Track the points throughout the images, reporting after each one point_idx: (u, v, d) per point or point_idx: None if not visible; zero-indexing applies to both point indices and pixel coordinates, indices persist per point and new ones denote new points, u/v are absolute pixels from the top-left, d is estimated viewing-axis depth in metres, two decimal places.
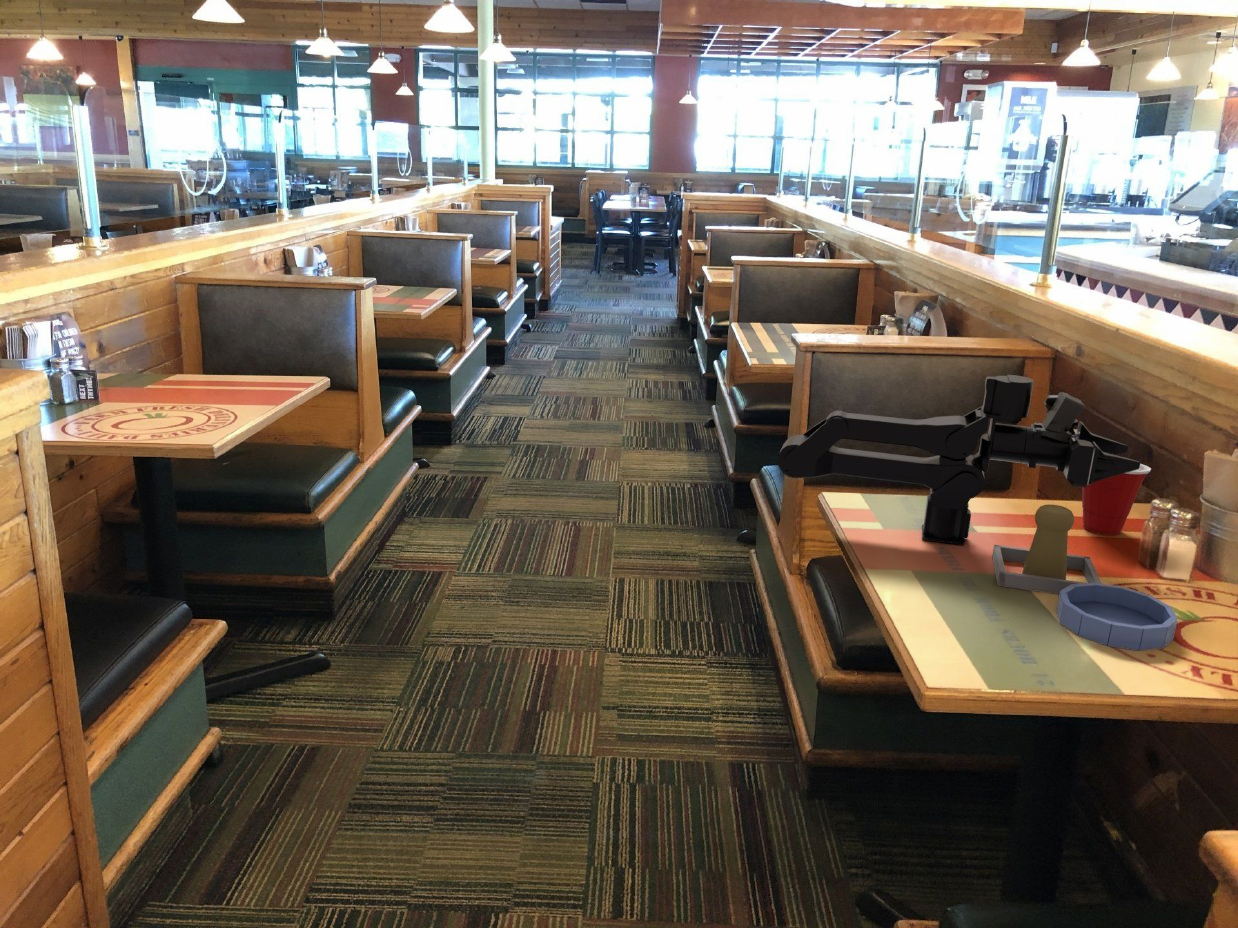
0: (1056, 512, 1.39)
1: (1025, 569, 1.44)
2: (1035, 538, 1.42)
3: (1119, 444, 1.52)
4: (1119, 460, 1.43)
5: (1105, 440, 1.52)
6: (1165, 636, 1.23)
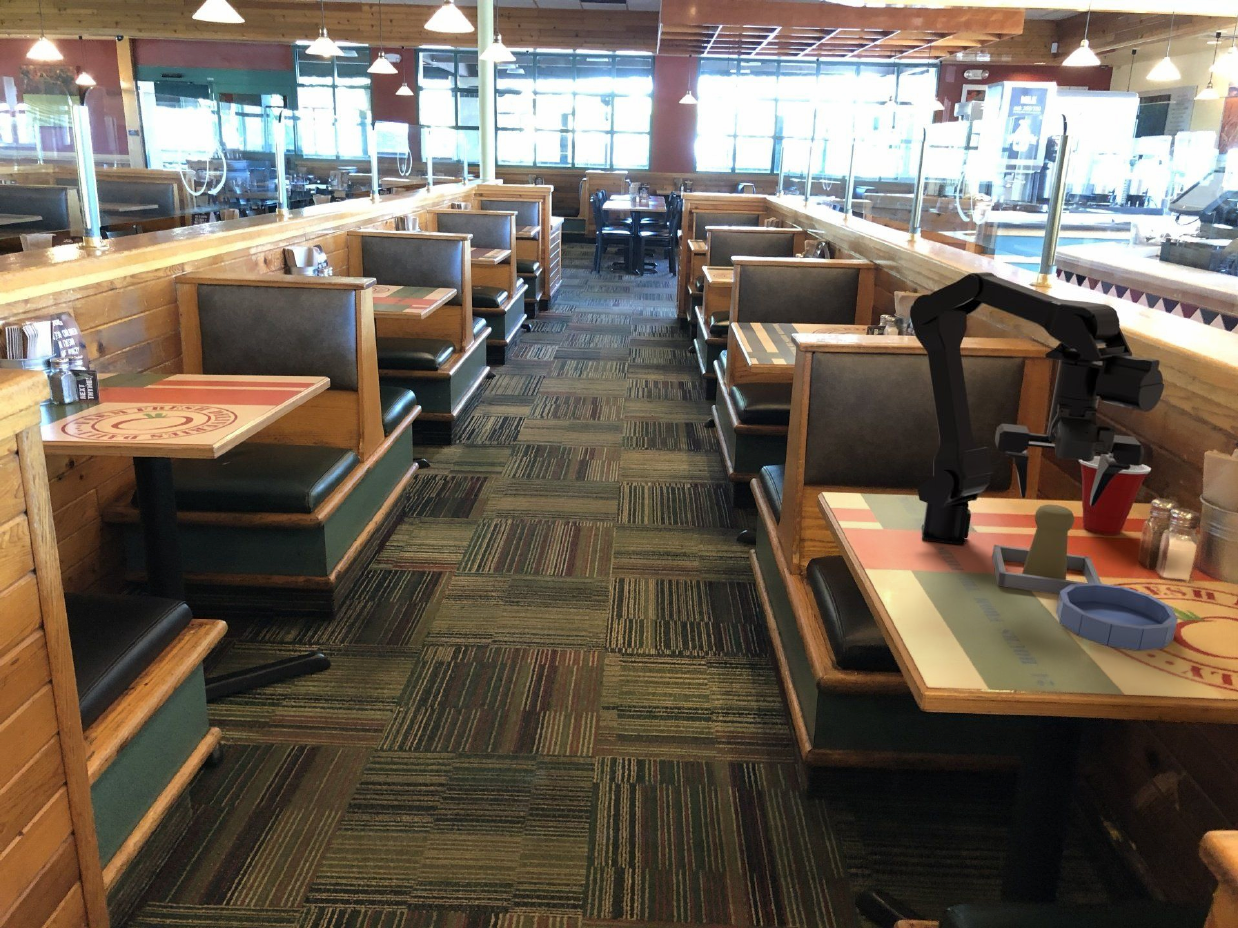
0: (1056, 512, 1.39)
1: (1025, 569, 1.44)
2: (1035, 538, 1.42)
3: (1092, 498, 1.39)
4: (1020, 478, 1.41)
5: (1097, 485, 1.38)
6: (1165, 636, 1.23)
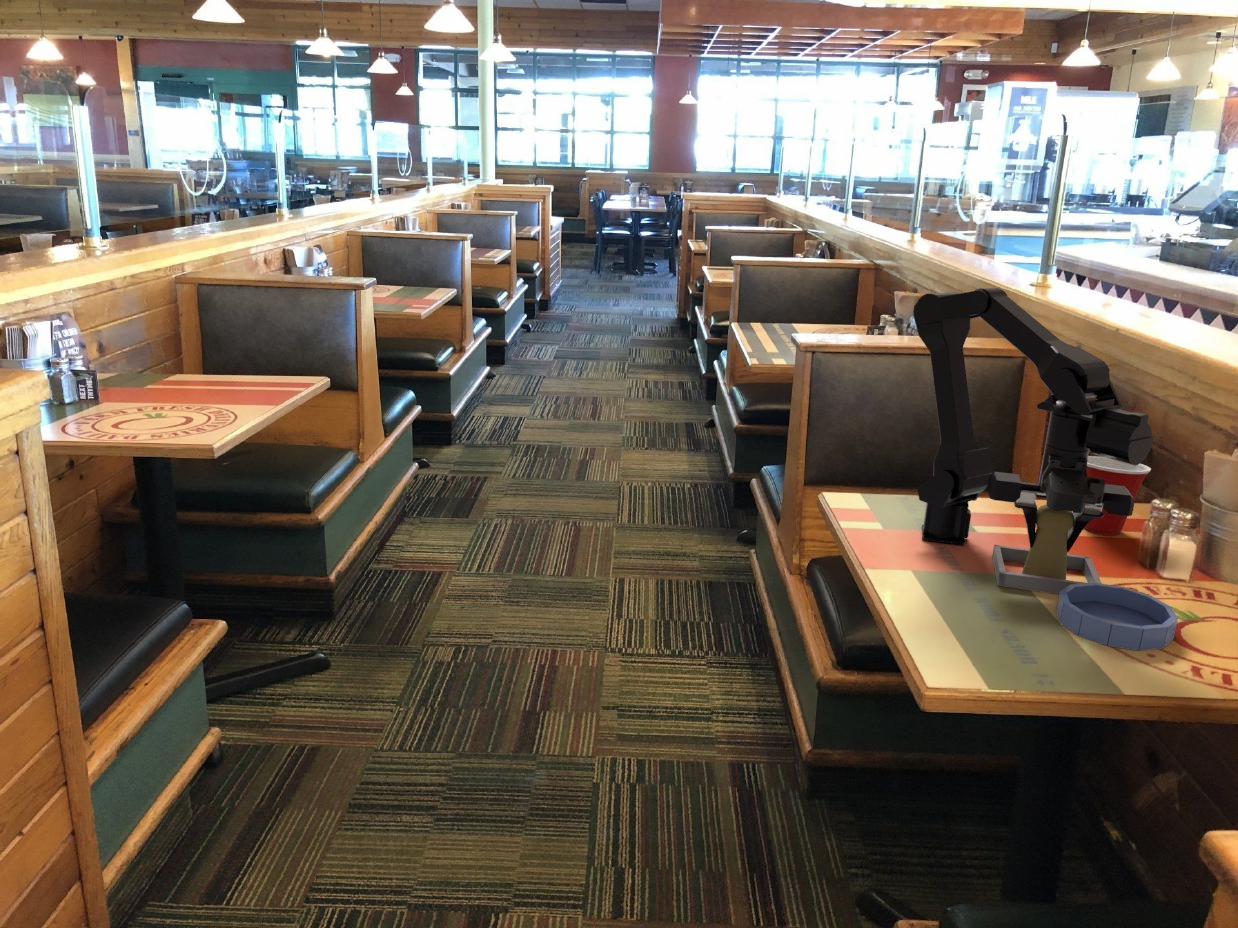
0: (1056, 512, 1.39)
1: (1025, 569, 1.44)
2: (1035, 538, 1.42)
3: (1067, 544, 1.41)
4: None
5: (1071, 532, 1.40)
6: (1165, 636, 1.23)
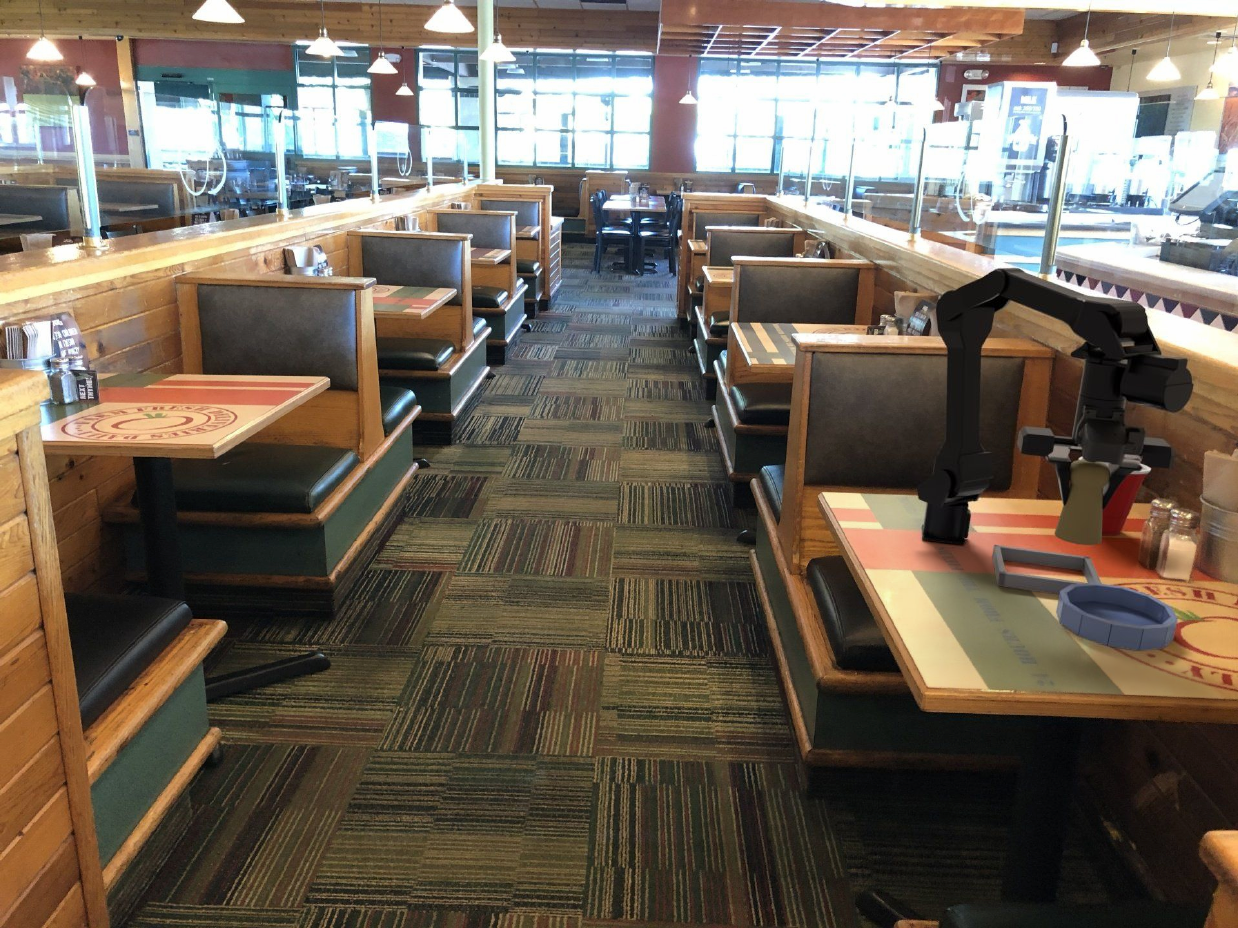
0: (1091, 466, 1.32)
1: (1058, 528, 1.36)
2: None
3: (1103, 501, 1.34)
4: None
5: (1107, 487, 1.33)
6: (1165, 636, 1.23)
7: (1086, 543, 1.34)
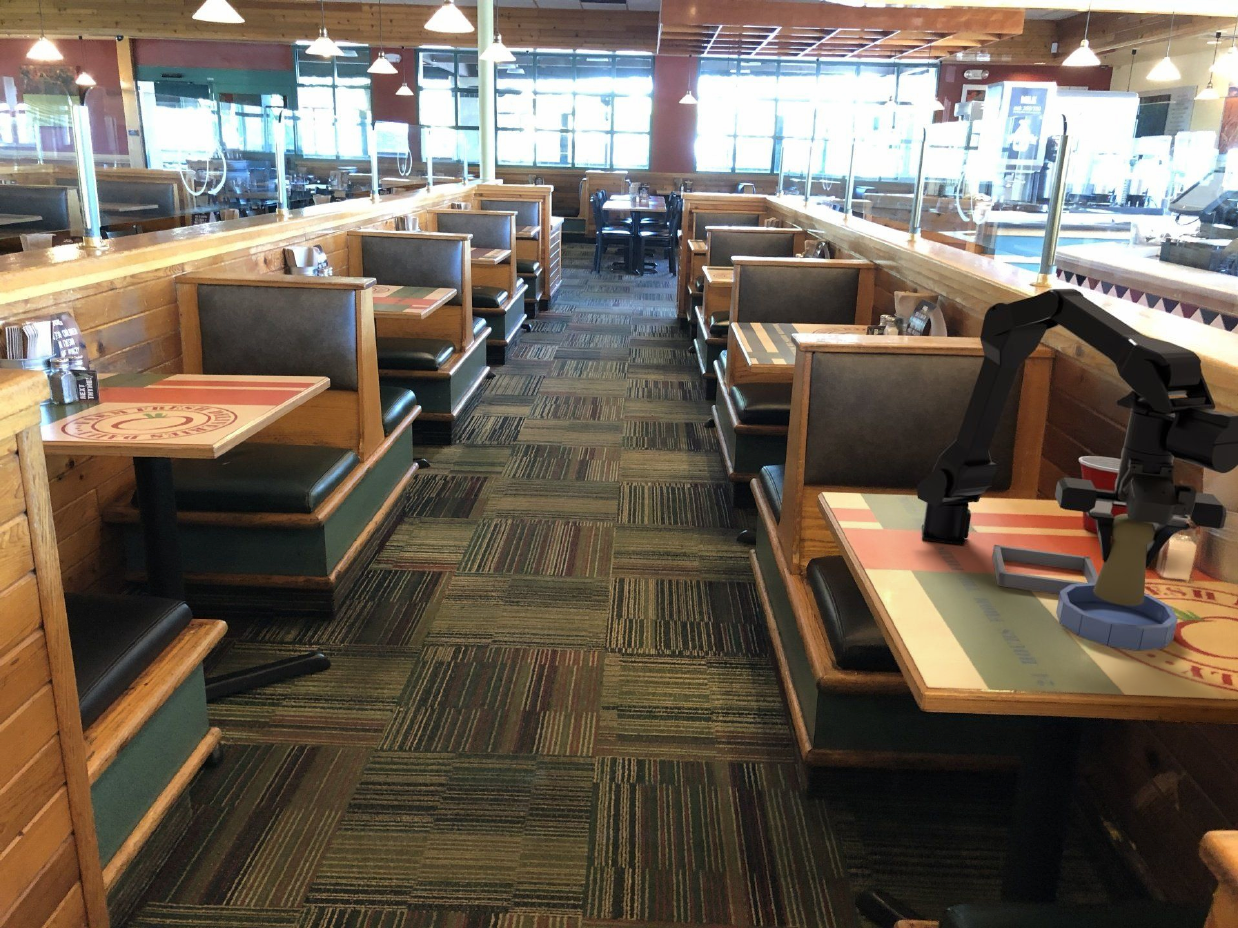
0: (1135, 523, 1.24)
1: (1097, 586, 1.28)
2: (1110, 552, 1.27)
3: (1146, 559, 1.26)
4: (1102, 540, 1.26)
5: (1152, 545, 1.25)
6: (1165, 636, 1.23)
7: (1128, 603, 1.25)
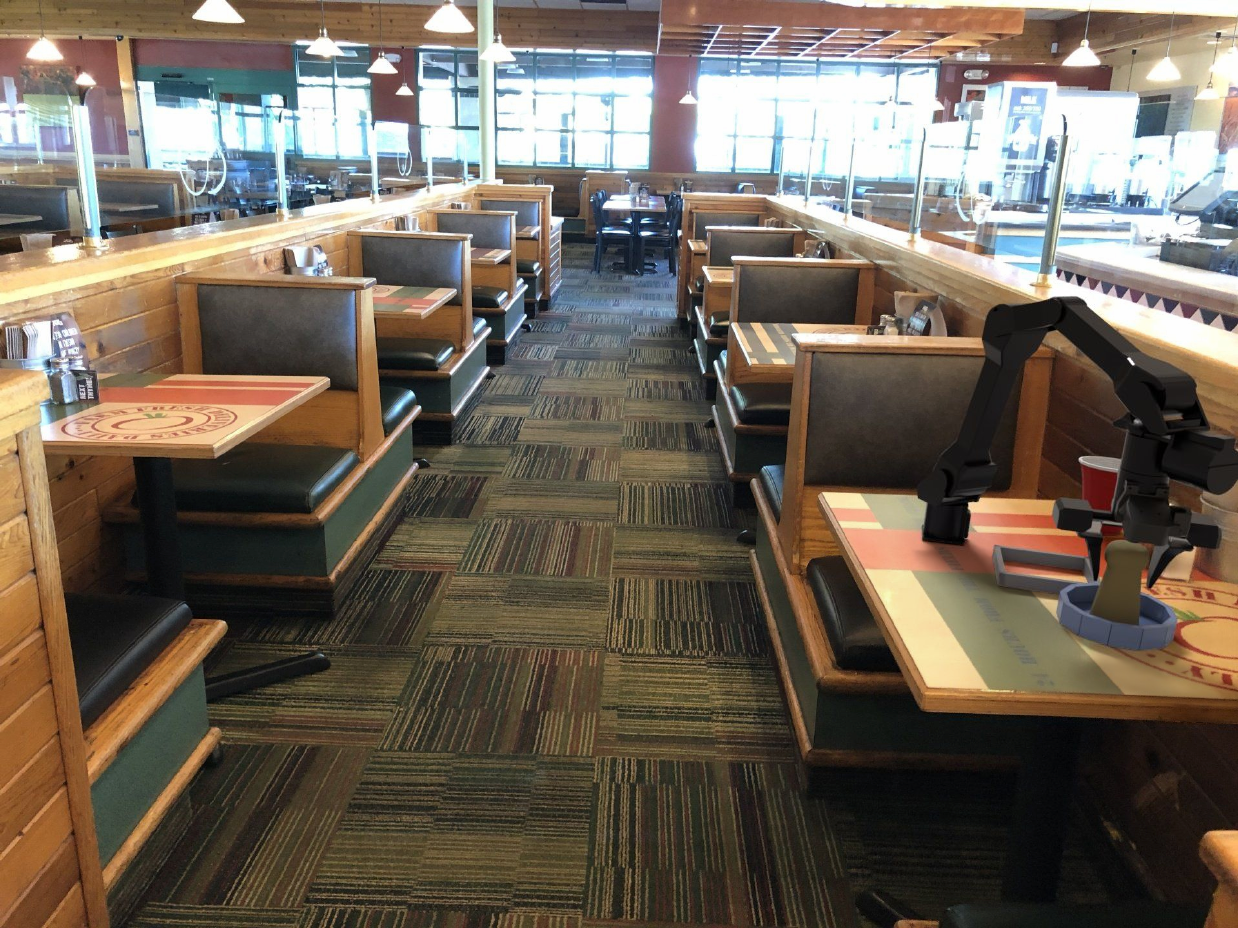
0: (1129, 549, 1.25)
1: (1093, 611, 1.29)
2: (1105, 577, 1.28)
3: (1150, 579, 1.26)
4: (1092, 559, 1.27)
5: (1155, 566, 1.25)
6: (1165, 636, 1.23)
7: None
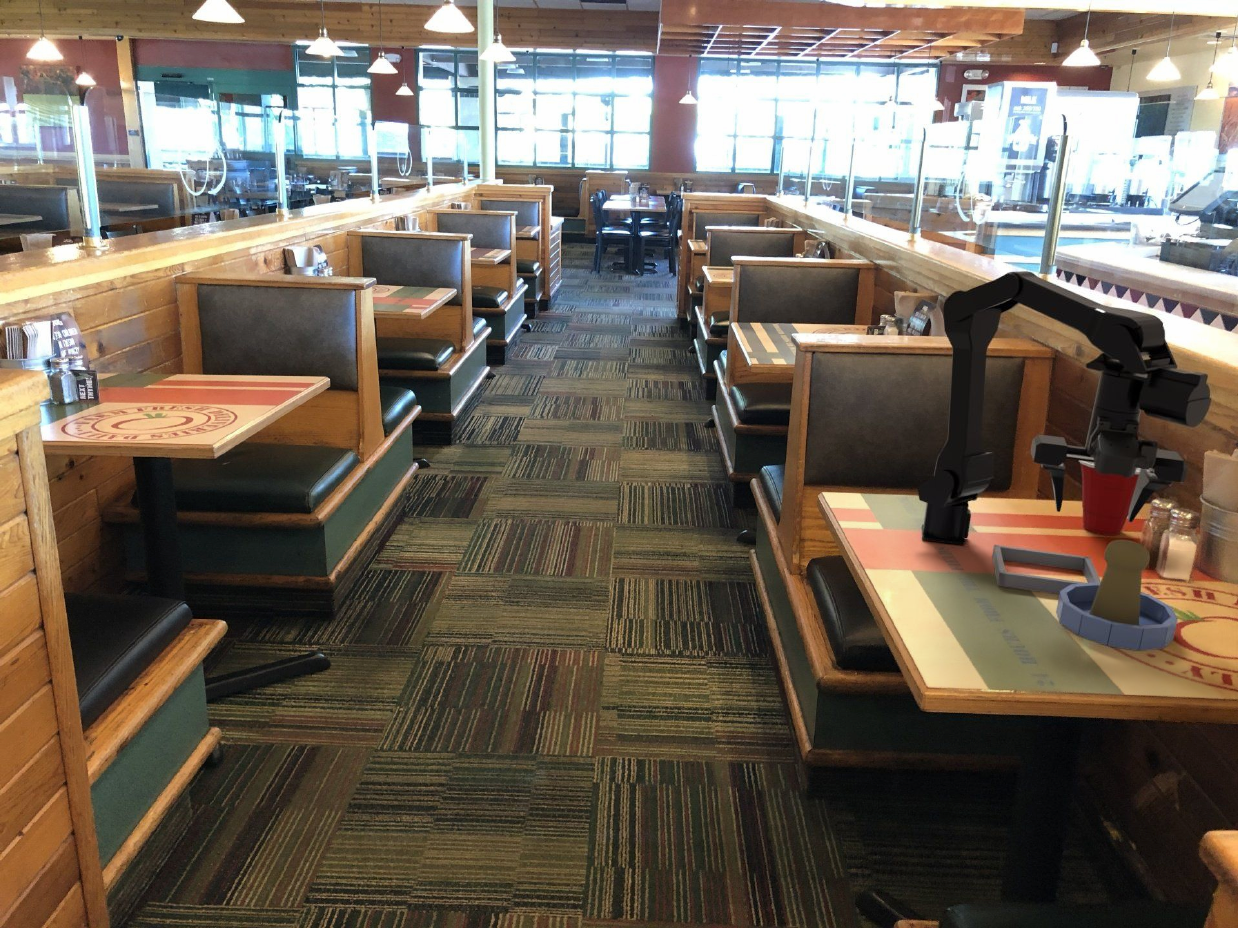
0: (1129, 549, 1.25)
1: (1093, 611, 1.29)
2: (1105, 577, 1.28)
3: (1131, 513, 1.34)
4: (1055, 491, 1.36)
5: (1136, 501, 1.33)
6: (1165, 636, 1.23)
7: None
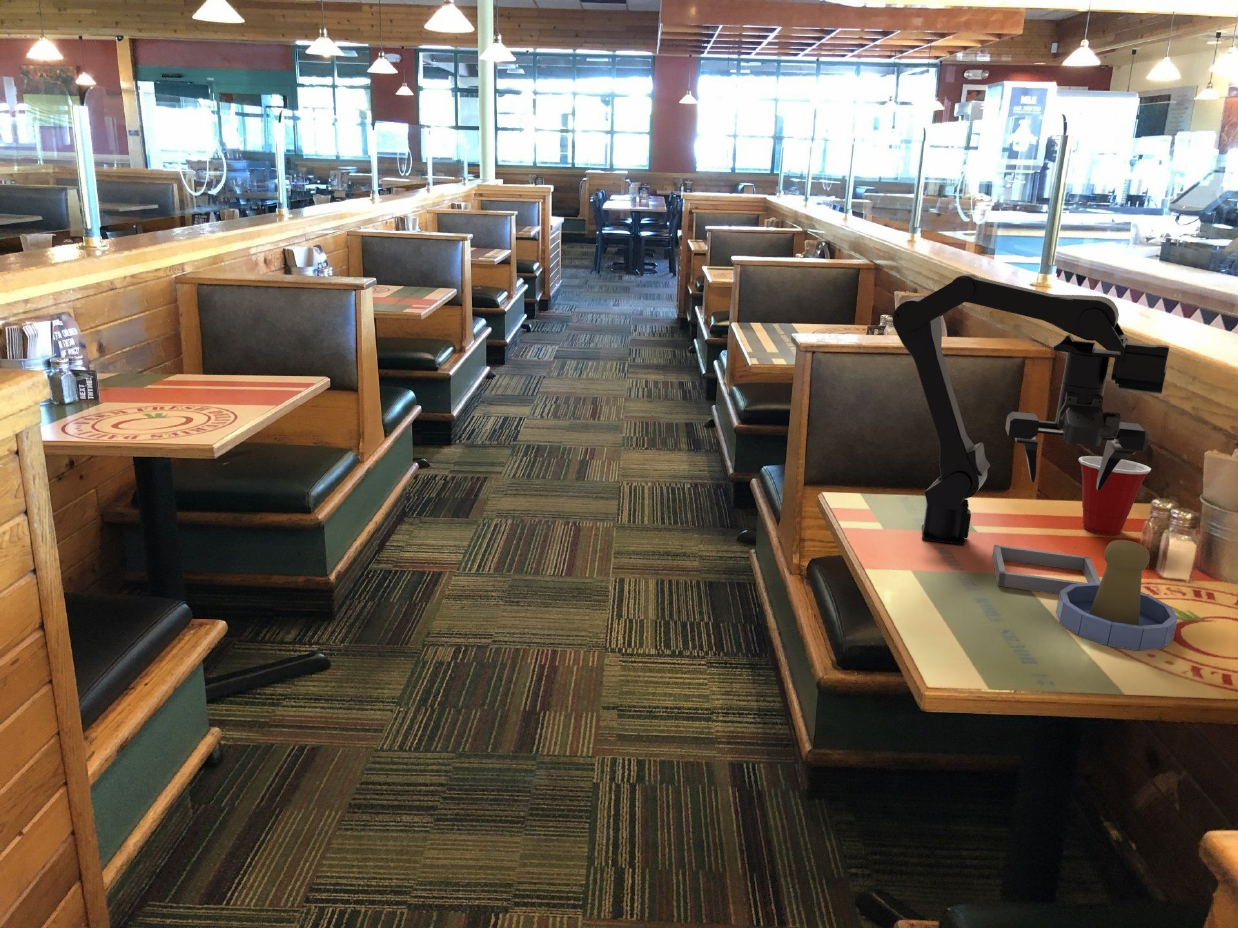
0: (1129, 549, 1.25)
1: (1093, 611, 1.29)
2: (1105, 577, 1.28)
3: (1099, 482, 1.45)
4: None
5: (1103, 470, 1.44)
6: (1165, 636, 1.23)
7: None
